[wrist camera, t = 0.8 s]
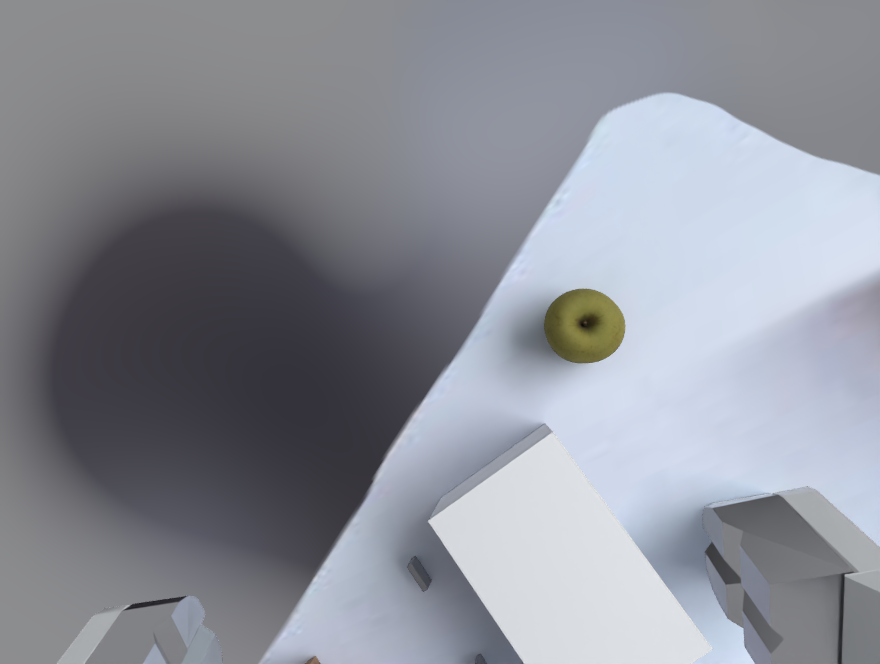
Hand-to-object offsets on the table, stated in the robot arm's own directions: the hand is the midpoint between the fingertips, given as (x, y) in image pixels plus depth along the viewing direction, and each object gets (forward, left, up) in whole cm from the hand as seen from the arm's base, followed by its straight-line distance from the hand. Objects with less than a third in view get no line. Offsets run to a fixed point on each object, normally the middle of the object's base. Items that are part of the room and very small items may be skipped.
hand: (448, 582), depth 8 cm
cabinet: (-15, +7, -51) cm, 53 cm away
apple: (+2, -12, -51) cm, 52 cm away
